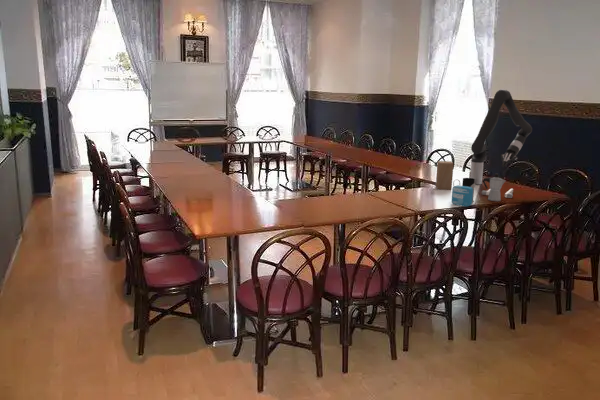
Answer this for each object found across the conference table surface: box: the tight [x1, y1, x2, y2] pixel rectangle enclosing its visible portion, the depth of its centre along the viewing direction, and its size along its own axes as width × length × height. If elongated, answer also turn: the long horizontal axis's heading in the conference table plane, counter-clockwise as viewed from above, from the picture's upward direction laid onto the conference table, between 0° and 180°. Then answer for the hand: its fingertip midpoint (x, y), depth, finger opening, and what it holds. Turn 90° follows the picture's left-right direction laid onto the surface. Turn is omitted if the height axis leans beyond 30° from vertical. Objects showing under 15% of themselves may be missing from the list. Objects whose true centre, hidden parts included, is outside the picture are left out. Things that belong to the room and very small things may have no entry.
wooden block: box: [435, 160, 454, 191], centre depth 367 cm, size 10×10×20 cm
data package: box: [450, 184, 474, 207], centre depth 316 cm, size 12×4×12 cm, turn 48°
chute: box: [481, 188, 514, 199], centre depth 353 cm, size 20×22×2 cm
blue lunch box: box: [452, 177, 476, 203], centre depth 329 cm, size 9×14×15 cm, turn 58°
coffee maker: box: [482, 173, 507, 202], centre depth 331 cm, size 15×9×18 cm, turn 65°
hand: (502, 166), depth 350 cm, fingers closed
